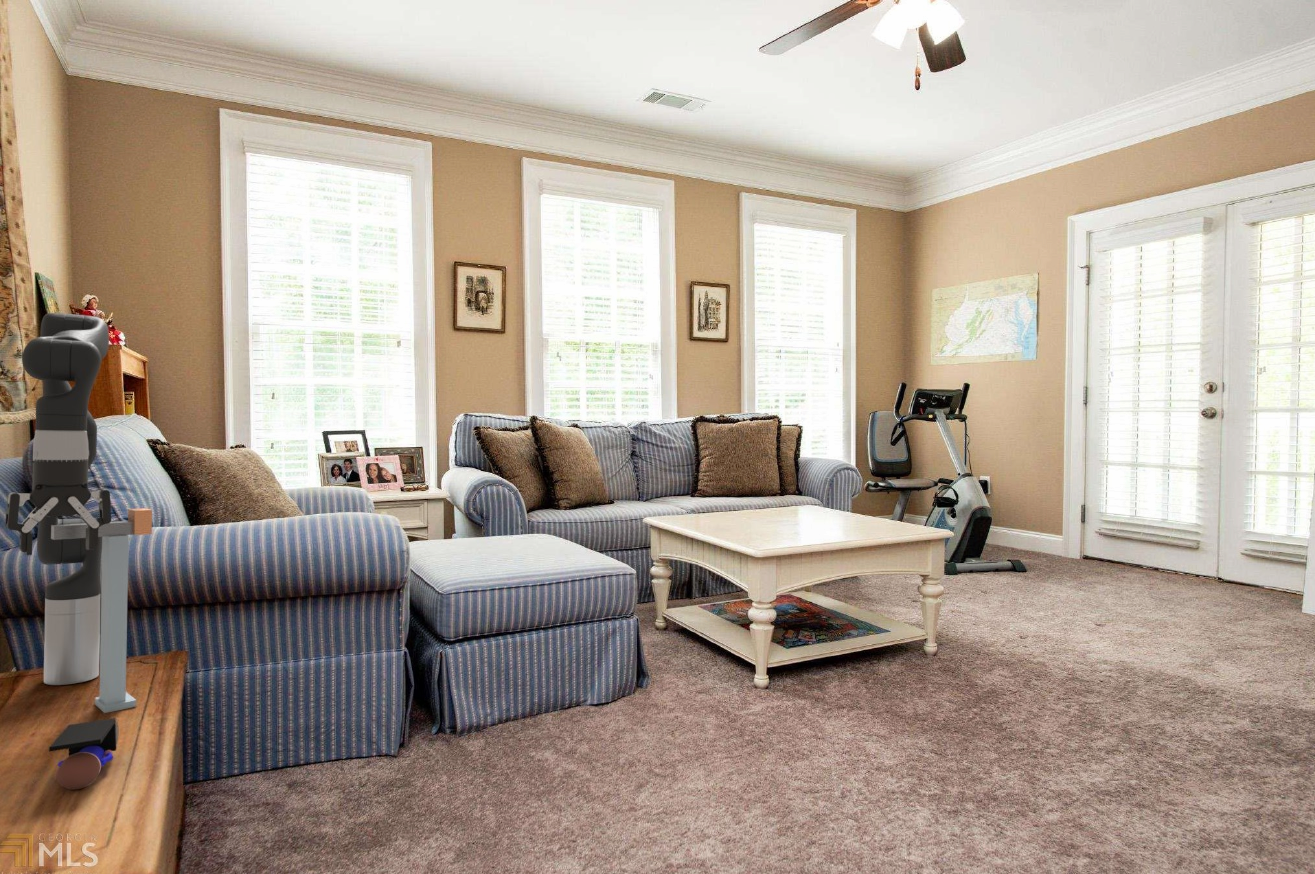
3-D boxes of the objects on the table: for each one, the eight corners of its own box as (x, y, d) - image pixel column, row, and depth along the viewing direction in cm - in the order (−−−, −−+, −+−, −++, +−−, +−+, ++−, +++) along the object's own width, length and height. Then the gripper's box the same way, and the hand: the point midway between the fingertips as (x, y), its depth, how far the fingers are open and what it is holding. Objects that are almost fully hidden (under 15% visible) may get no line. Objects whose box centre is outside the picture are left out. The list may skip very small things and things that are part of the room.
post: (94, 704, 148) (97, 534, 148) (125, 697, 152) (128, 532, 152) (104, 713, 143) (107, 537, 144) (136, 706, 147) (139, 535, 147)
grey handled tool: (49, 538, 142) (50, 512, 142) (144, 531, 153) (144, 508, 153) (55, 540, 139) (55, 514, 139) (151, 534, 150) (152, 509, 150)
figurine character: (68, 769, 123) (44, 798, 109) (70, 718, 123) (47, 740, 110) (120, 762, 126) (103, 789, 112) (122, 712, 127) (105, 733, 113)
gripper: (104, 455, 142) (102, 545, 142) (2, 456, 131) (1, 553, 131) (116, 457, 137) (115, 550, 137) (12, 458, 126) (10, 559, 126)
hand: (59, 552), depth 134 cm, fingers open, 8 cm apart
